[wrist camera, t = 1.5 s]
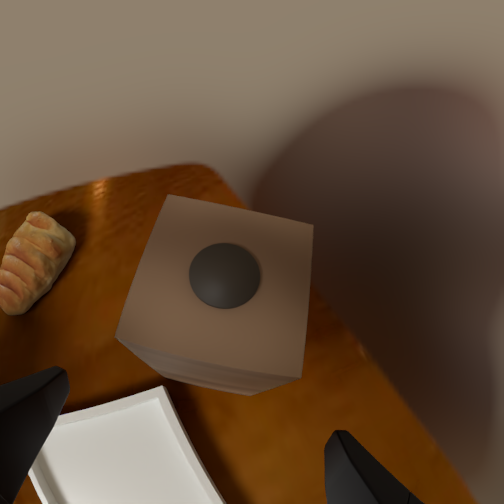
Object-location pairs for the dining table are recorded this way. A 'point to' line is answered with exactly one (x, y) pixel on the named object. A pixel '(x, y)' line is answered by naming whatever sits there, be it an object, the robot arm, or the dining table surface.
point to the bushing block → (221, 297)
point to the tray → (123, 456)
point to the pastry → (33, 262)
